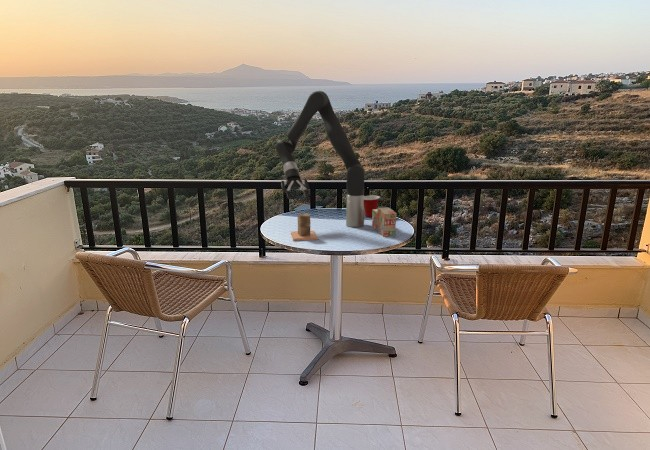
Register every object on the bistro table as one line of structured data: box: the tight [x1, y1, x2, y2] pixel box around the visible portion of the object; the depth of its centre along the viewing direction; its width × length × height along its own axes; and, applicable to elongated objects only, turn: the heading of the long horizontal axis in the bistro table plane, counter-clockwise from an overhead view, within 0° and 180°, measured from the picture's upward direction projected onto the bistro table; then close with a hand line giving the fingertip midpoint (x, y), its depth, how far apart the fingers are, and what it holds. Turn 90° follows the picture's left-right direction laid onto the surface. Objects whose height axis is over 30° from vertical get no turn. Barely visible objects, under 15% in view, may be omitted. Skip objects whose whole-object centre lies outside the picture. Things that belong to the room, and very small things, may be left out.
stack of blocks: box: [371, 207, 397, 238], centre depth 209 cm, size 21×6×12 cm, turn 9°
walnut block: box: [297, 212, 311, 236], centre depth 197 cm, size 5×5×10 cm
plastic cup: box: [363, 194, 381, 218], centre depth 238 cm, size 11×11×12 cm
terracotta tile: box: [290, 230, 319, 242], centre depth 199 cm, size 12×12×1 cm
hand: (298, 197), depth 205 cm, fingers open, 8 cm apart
